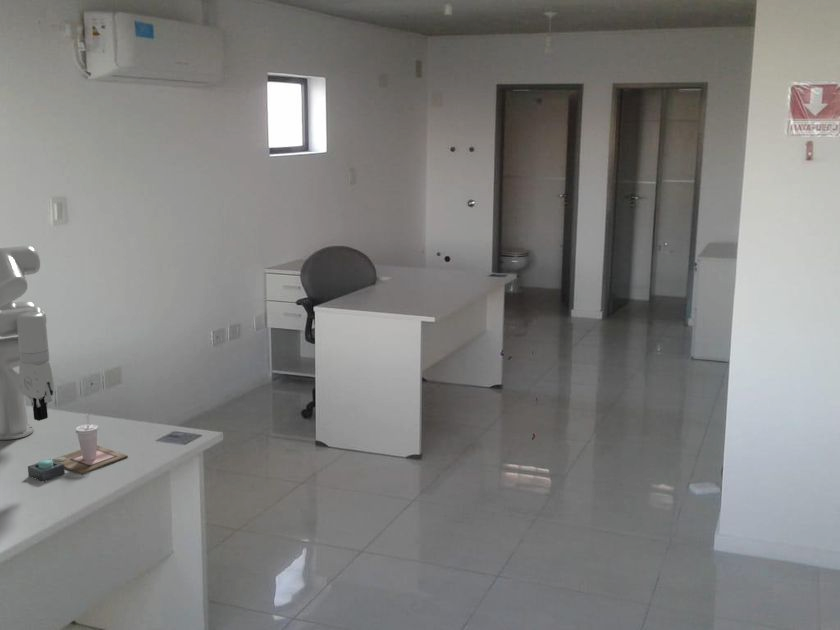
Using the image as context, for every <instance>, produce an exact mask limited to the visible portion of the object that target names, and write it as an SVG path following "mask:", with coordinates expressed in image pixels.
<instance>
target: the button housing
mask: <svg viewBox="0 0 840 630" xmlns="http://www.w3.org/2000/svg"><path fill="white" fill-rule="evenodd" d="M49 460H52V459H50V458H49ZM65 471H66V470H65V468H64V464H62V463H59V462H56V461H54V460H53V466H52V467H49V468H47V469H44V470H43V469H40V468H38V462H37V463H34V464H31V465H28V466H27V473H28V477H29V476H30V478H32V477H33V478H32V479H34V478H36V479H35V480H37V479H38V480H37V481H39V480H40V482H42V481H44V482H46V480H47V481H50V480H52V479H55V478H58V477H60V476H63V475H66V474H65V473H66V472H65Z"/></svg>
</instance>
